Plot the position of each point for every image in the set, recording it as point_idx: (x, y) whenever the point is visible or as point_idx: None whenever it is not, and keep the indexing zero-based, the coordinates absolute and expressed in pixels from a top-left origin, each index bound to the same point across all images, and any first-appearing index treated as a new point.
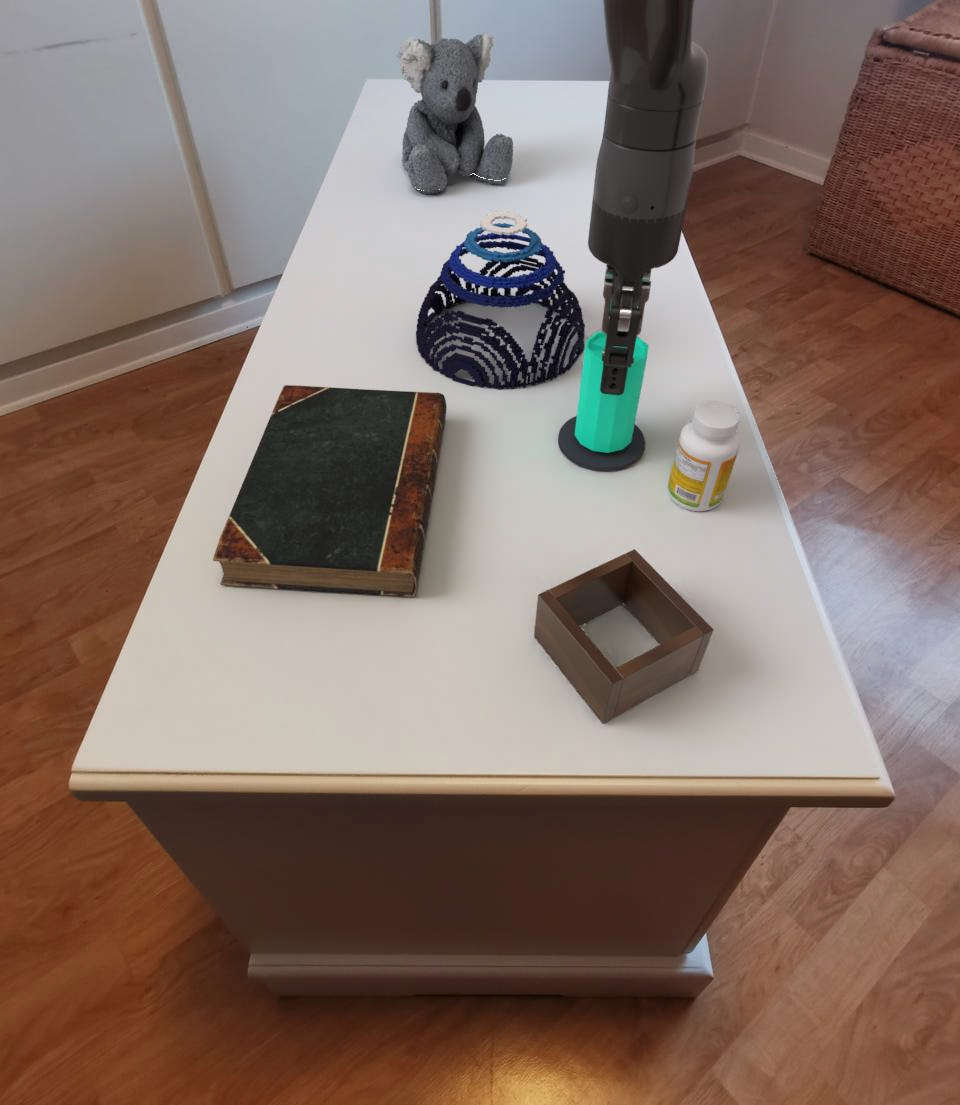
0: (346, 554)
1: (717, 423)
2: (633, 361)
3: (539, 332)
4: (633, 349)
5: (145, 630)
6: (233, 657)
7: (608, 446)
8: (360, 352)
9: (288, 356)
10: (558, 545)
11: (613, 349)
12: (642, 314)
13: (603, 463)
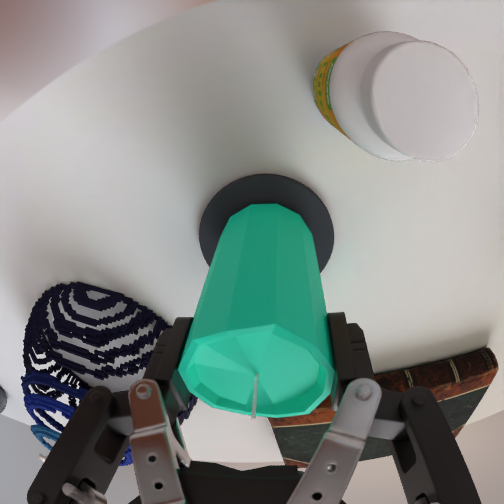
0: (473, 401)
1: (467, 108)
2: (426, 398)
3: (131, 373)
4: (454, 438)
5: (467, 423)
6: (494, 394)
7: (313, 241)
8: (195, 432)
9: (222, 454)
10: (458, 261)
11: (379, 434)
12: (343, 493)
13: (325, 233)
